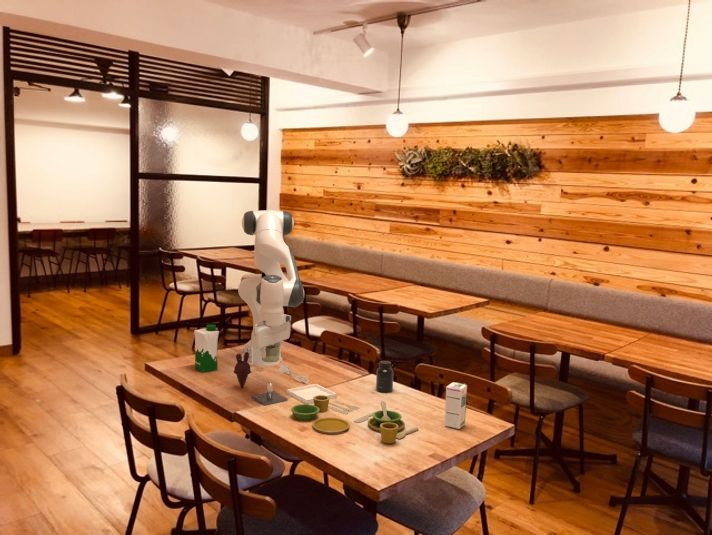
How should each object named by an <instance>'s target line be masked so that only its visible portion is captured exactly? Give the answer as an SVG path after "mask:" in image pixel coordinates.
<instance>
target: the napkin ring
mask: <svg viewBox="0 0 712 535" xmlns="http://www.w3.org/2000/svg"><path fill="white" fill-rule="evenodd" d="M279 350H280V351H281V347H279V346H277V345H269V346H266V349H265V351H266V352H267V353H268V354H267V357H266V358H262V360H263V361H264V362H277V361H278V360H279Z"/></svg>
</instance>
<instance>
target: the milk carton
mask: <svg viewBox="0 0 712 535" xmlns="http://www.w3.org/2000/svg"><path fill="white" fill-rule="evenodd" d="M216 326H217V325H216V324H212V323H211V324H206V327H205V328H199V329H195V330H194V332H193V333H194V342H195V344H194V347H195V348H194V370H196V371H198V372H199V373H201V374H205V373H210V372H214V371H215V372H216V371H218V339H219V334H220V331H219V330H217V327H216Z"/></svg>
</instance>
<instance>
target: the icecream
mask: <svg viewBox="0 0 712 535" xmlns="http://www.w3.org/2000/svg"><path fill="white" fill-rule="evenodd" d="M241 354H242V353H239V352H238V353H237V354H236V355H235V359H236V362H237V363H235V364H234V365H235V366H234V368H233V370H234V371H233V373H234V374H235V375H236V377H237V381H238V383H239V387H240V389H244V387H245V385H246V382H247V379H248V376H249V375H250V374H251V373H252V371H251V365H249V363H248V362H247V361H248V358H249V353H248V352H245V354H244V361H242V356H241Z"/></svg>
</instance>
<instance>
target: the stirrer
mask: <svg viewBox="0 0 712 535" xmlns="http://www.w3.org/2000/svg"><path fill="white" fill-rule="evenodd" d="M278 372H279V373H281V374H287V375H288V376H289V375H291V376H292V377H293V378H294V379H295V380H296V381H297V382H299V383H302V384H308V383H309V382H310V378H309V377H308V376H307V375H304V374H294V373H293V372H292V371H291V369H290V366H288V365H287V364H282V365H279V367H278ZM305 379H306V381H305Z"/></svg>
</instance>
